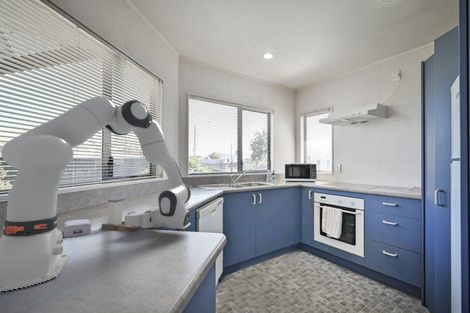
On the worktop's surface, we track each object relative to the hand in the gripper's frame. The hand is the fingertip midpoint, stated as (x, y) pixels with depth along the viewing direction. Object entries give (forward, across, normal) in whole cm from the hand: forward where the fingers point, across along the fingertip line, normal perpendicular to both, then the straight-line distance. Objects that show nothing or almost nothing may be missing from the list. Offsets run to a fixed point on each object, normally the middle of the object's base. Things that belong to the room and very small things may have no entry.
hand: (129, 213), depth 106 cm
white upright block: (+7, 0, +5) cm, 9 cm away
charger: (+18, +10, +7) cm, 22 cm away
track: (+3, 0, +7) cm, 7 cm away
